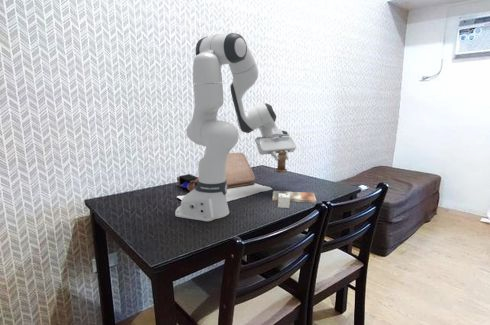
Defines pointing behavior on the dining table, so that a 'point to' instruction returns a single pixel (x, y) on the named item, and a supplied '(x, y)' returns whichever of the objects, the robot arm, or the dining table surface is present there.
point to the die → (283, 200)
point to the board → (296, 196)
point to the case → (238, 171)
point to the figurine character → (186, 181)
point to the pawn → (281, 163)
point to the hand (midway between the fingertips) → (282, 159)
